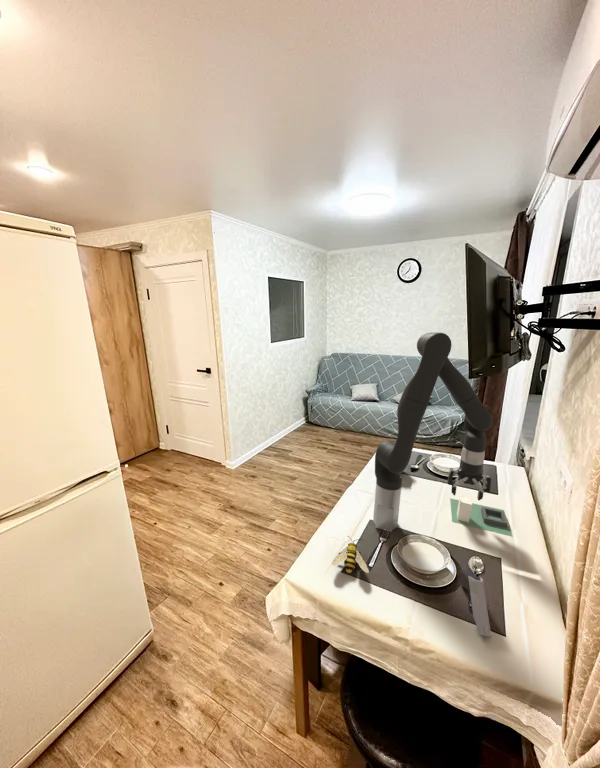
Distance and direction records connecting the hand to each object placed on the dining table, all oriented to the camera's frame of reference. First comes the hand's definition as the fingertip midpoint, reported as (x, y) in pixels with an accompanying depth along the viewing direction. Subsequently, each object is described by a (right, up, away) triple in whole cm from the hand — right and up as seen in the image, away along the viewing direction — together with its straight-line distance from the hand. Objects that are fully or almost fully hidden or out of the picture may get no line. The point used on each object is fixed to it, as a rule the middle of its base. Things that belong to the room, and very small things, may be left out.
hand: (466, 496), depth 121 cm
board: (+7, -10, +4) cm, 13 cm away
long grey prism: (-15, -20, -32) cm, 41 cm away
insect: (-47, -16, -17) cm, 52 cm away
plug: (0, -9, +2) cm, 9 cm away
